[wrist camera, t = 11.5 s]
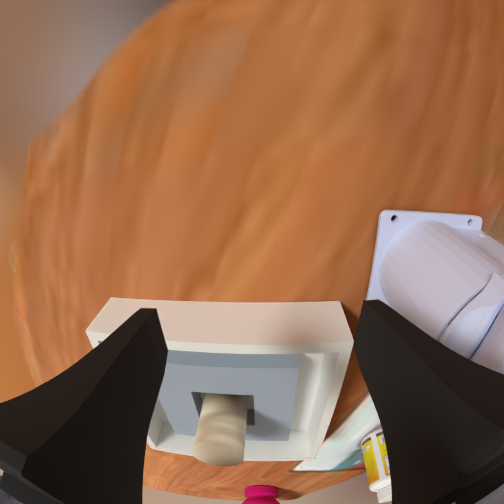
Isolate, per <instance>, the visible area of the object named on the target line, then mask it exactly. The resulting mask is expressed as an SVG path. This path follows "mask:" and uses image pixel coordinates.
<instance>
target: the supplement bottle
mask: <svg viewBox="0 0 504 504" xmlns="http://www.w3.org/2000/svg"><path fill="white" fill-rule="evenodd" d="M361 446H362V451H363V456H364V461H365V466H366V472H367V477H368V483H369V488H370V490H371V491H373V492H377V497H378V502H380V503H383V502H388V501H392V489H391V478H390V468H389V461H388V455H387V449H386V444H385V439H384V435H383V430H382V428H381V429H379V430H376V431H374V432H371V433H370V434H368V435H367V436H366V437H365V438H364V439H363V440H362V442H361Z"/></svg>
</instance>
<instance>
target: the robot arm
mask: <svg viewBox="0 0 504 504" xmlns="http://www.w3.org/2000/svg"><path fill="white" fill-rule="evenodd" d="M393 215H395V220H393V221H391V217H392V216H393ZM469 220H470V221H469ZM468 221H469V223H468ZM481 226H482V218H481V217H479V216H477V215H466V214H453V213H438V212H422V211H403V210H384V211H382V212H381V213H380V215H379V222H378V230H377V238H376V245H375V252H374V259H373V265H372V271H371V277H370V282H369V288H368V293H367V298H366V300H365V301H363V305H362V310H361V314H360V319H359V323H358V327H357V332H356V336H355V340H354V347H355V351H356V356H357V359H358V363H359V367H360V369H361V372H362V375H363V377H364V380H365V382H366V385H367V387H368V390H369V392H370V395H371V397H372V400H373V403H374V405H375V408H376V410H377V413H378V416H379V419H380V422H381V426H382V430H383V435H384V439H385V444H386V449H387V455H388V461H389V468H390V478H391V489H392V504H504V246H503V245H501V244H500V243H499V242H497V241H496V240H494V239H493V238H491V237H490V236H488V235H487V234H485V233H484V232H482V231H481ZM167 355H168V348H167V345H166V341H165V338H164V334H163V331H162V327H161V324H160V320H159V316H158V312H157V308H140V309H139V310H138V311H136V312H135V313H134V314H133V315H132V316H130V317H129V318H128V319H127V320H126V321H125V322H124V323H123V324H122V325H120V326H119V327H118V328H117V329H116V330H115V331H114V332H113V333H111V334H110V335H109V336H108V337H107V338H106V339H105V340H104V341H102V342H101V343H100V344H99V345H98V346H96V347H95V348H94V349H93V350H91V351H90V352H89V353H88V354H87V355H85V356H84V357H83V358H82V359H80V360H79V361H78V362H76V363H75V364H74V365H72V366H71V367H69V368H68V369H67V370H65V371H64V372H62V373H61V374H59V375H58V376H56V377H54V378H53V379H51V380H49V381H47V382H46V383H44V384H42V385H40V386H38V387H37V388H35V389H33V390H31V391H29V392H27V393H25V394H22V395H20V396H18V397H15V398H13V399H11V400H8V401H5V402H3V403H0V468H1V469H2V470H3V471H4V472H3V475H2V476H1V475H0V504H142V486H143V469H144V458H145V450H146V442H147V435H148V431H149V426H150V422H151V419H152V415H153V412H154V408H155V405H156V401H157V398H158V395H159V391H160V388H161V384H162V381H163V378H164V374H165V368H166V362H167Z"/></svg>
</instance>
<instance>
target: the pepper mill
mask: <svg viewBox="0 0 504 504" xmlns="http://www.w3.org/2000/svg"><path fill="white" fill-rule="evenodd" d="M245 497H247V499H246V500H245V501H244V502H243V503H242V504H280V503H279V502H278V501H277V500H276V499H275V498H277V497H278V489H277V488H276V487H273V486H265V485H256V486H249V487H247V488H246V489H245Z"/></svg>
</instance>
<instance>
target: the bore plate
mask: <svg viewBox="0 0 504 504" xmlns="http://www.w3.org/2000/svg"><path fill="white" fill-rule="evenodd" d="M298 372H299V363H298V354H230V353H208V352H191V351H178V350H168V355H167V362H166V368H165V374H164V378H163V381H162V384H161V388H160V391H159V395H158V398H159V400H160V403H161V405H162V407H163V409H164V411H165V414H166V416H167V418H168V420H169V422H170V424H171V426H172V428H173V430H174V432H175V434H181V435H189V436H196V432H197V428H198V423H199V418H200V414H201V409H202V404H203V401H202V398H201V394H200V392H203V393H216V394H234V395H253V397H254V409H248V411H247V423H246V435H245V440H250V441H289V436H290V430H291V423H292V417H293V410H294V403H295V395H296V388H297V380H298Z"/></svg>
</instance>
